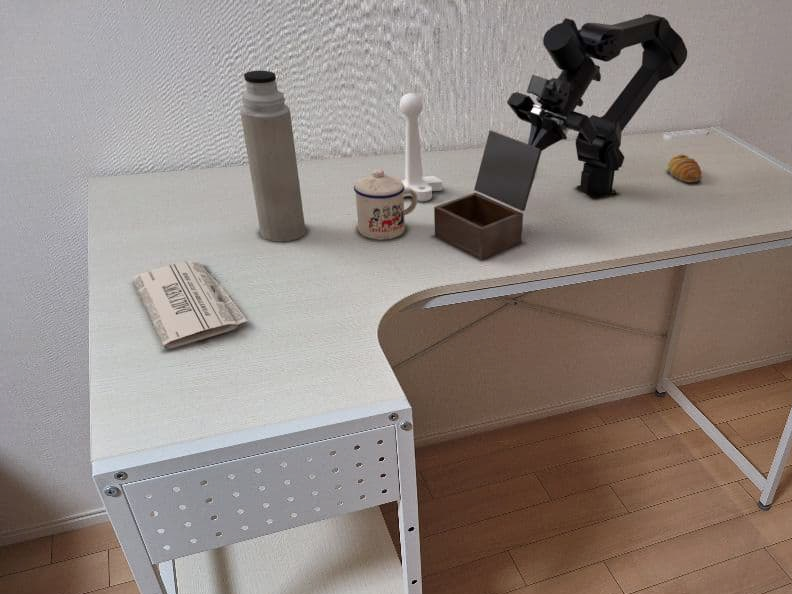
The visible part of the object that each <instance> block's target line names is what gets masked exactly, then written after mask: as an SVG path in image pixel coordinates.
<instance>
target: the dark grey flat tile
mask: <svg viewBox="0 0 792 594" xmlns="http://www.w3.org/2000/svg"><path fill="white" fill-rule="evenodd" d="M542 152H543V151H542V149H539V148H537V147H534V146H531V145H529V144H528V143H526V142H523V141H520V140H518V139H515V138H513V137H510V136H507V135H505V134H502V133H500V132H497V131H494V130H491V129H490V130H489V131H488V134H487V139H486V143H485V147H484V150H483V154H482V158H481V160H480V166H479V169H478V173H477V176H476V181H475V185H474V188H473V190H474V191H475V192H477V193H480V194H481V195H482V194H483V195H484V196H487V197H488V198H491V199H493V200H495V201H496V200H497V202H500V203H502V204H505V205H506V206H507V205H508V206H509V207H511V208H513V209H517V210H519V211H520V212H525V211H526V208H527V204H528V201H529V197H530V194H531V190H532V187H533V183H534V180H535V177H536V172H537V169H538V166H539V162H540V159H541V155H542Z"/></svg>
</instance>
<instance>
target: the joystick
mask: <svg viewBox="0 0 792 594" xmlns="http://www.w3.org/2000/svg"><path fill="white" fill-rule="evenodd" d="M423 108H424V104H423V101H422V99H421V97H420V96H419V95H418V94H416V93H413V92H412V93H411V92H409V93H406V94H403V96H402V97H401V98H400V100H399V109H400V111H401V113H402V114H403V115H404V118H405V145H404V147H405V148H404V149H405V151H404V152H405V153H404V155H405V157H404V161H405V162H404V179H402V180H401V179H400V180H401V181H402V183H403V185H404V188H410V189H412V190H414V191H415V192H416V194H417V198H418V200H417V202H421V203H423V202H428V201H430V200H431V199H432V198H433V192H434V191H435V192H441V191H442V190H443V180H441V179H440V178H438V177H437V176H436V175H435V176H434V175H428V176H423V175H424V174H423V164H422V153H421V141H420V131H419V116H420V115H421V114H422V111H423V110H424V109H423ZM403 197H404V198H405V197H412V193H405V194H403Z"/></svg>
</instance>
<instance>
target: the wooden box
mask: <svg viewBox="0 0 792 594" xmlns="http://www.w3.org/2000/svg"><path fill="white" fill-rule="evenodd" d="M433 214H434V215H433V216H434V218H433V219H434V220H433V221H434V238H436V239H438V240H441V241H443V242H445V243H446V244H448V245H451V246H452V247H454V248H456V249H458V250H461V251H462V252H465V253H466V254H468V255H470V256H473V257H474V258H476V259H478V260H480V261H483V260H486V259H488V258H490V257H493V256H495V255H497V254H500V253H502V252H504V251H506V250H509V249H511V248H513V247H516V246H519V245H521V244H522V240H523V220H524V213H523V212H522V211H518V210H516V209H515V208H513V207H510V206H507V205H506V204H505V205H504V203H501V202H499V201H496V200H495V199H492V198H490V197H488V196H487V197H486V196H485V195H482V194H481V193H480V194H479V192H473V193H469V194H467V195H463V196H461V197H458V198H456V199H453V200H450V201H447V202H444V203H442V204H439V205H436V206H433Z"/></svg>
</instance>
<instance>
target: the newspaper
mask: <svg viewBox="0 0 792 594" xmlns="http://www.w3.org/2000/svg"><path fill="white" fill-rule="evenodd" d="M132 281H133V283H134V285H135V288H136V290H137V292H138V294H139V296H140V298H141V301H142V303H143V305H144V308H145V309H146V311H147V313H148V316H149V318H150V320H151V323H152V324H153V327H154V329H155V331H156V334H157V336H158V338H159V340H160V342H161V345H162V347H163V349H165V350H171V349H174V348H178V347H182V346H185V345H189V344H191V343H194V342H198V341H201V340H205V339H207V338H210V337H215V336H217V335H221V334H223V333H226V332H230V331H235V329H237V328H238V325H241V324H242V323H243V324H244V323H245V322H248V319H247V318H246V316H245V315H244V314H243V312H242V311H241V310H240V309H239V307H237V305H236V304H235V302H234V301H233V300H232V299H231V298H230V296H229V295H228V294H227V292H226V291H225V290H224V289H223V288H222V287H221V285H220V284H219V283H218V282H217V281H216V280H215V279H214V278H213V277H212V275H211V274H210V273H209V272H208V271H207V270H206V269H205V267H204V266H202V263H201V262H200V261H197V260H193V259H190V260H185V261H181V262H176V263H172V264H168V265H164V266H161V267H158V268H154V269H151V270H147V271H145V272H141V273H138V274H136V275H134V276H133V277H132Z"/></svg>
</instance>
